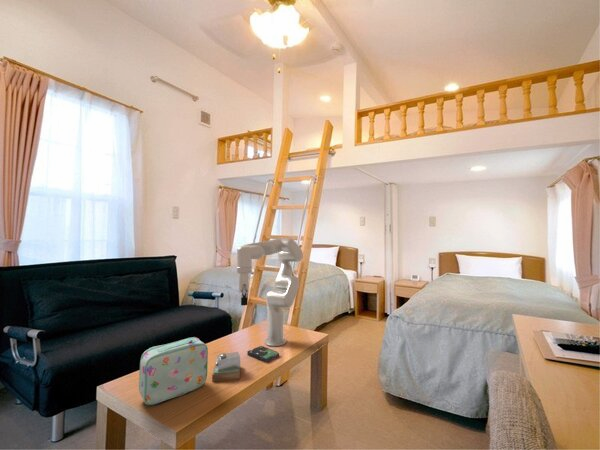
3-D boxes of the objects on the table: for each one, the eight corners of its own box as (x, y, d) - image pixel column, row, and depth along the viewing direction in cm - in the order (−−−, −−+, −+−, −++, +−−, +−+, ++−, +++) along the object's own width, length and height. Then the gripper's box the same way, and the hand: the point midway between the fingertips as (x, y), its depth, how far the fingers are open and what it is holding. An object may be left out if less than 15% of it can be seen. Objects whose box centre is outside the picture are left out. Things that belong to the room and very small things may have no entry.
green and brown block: (215, 369, 140) (215, 362, 141) (240, 367, 142) (240, 360, 143) (212, 381, 129) (212, 374, 129) (239, 379, 131) (239, 371, 131)
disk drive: (246, 356, 156) (265, 364, 147) (246, 351, 156) (265, 358, 147) (260, 350, 164) (279, 357, 155) (260, 345, 164) (279, 351, 155)
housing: (237, 361, 141) (237, 349, 141) (240, 367, 135) (240, 354, 135) (214, 366, 136) (214, 353, 136) (216, 371, 131) (216, 358, 131)
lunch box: (201, 376, 133) (201, 330, 134) (211, 385, 126) (211, 336, 126) (137, 400, 115) (137, 346, 115) (144, 411, 107) (144, 354, 108)
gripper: (237, 268, 158) (237, 299, 157) (236, 272, 141) (236, 307, 140) (251, 267, 159) (251, 298, 159) (251, 272, 142) (251, 306, 142)
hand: (244, 302), depth 149 cm, fingers open, 9 cm apart
